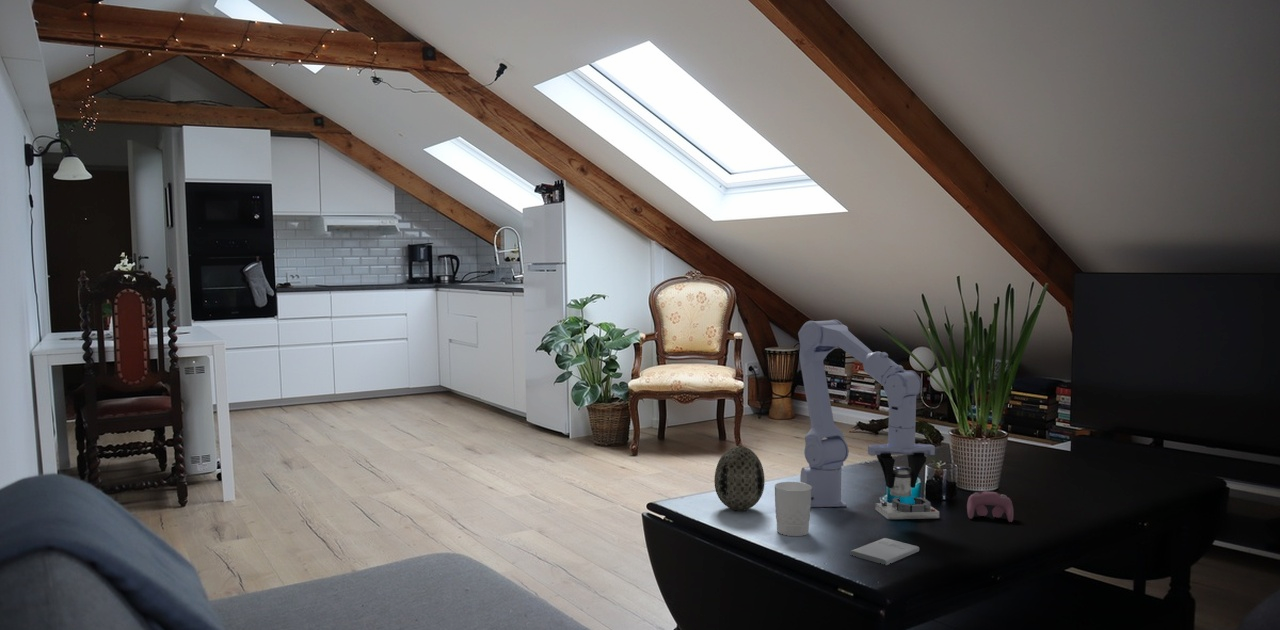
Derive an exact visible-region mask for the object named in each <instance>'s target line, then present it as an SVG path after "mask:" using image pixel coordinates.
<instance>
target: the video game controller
mask: <svg viewBox="0 0 1280 630" xmlns="http://www.w3.org/2000/svg"><path fill="white" fill-rule="evenodd" d="M987 506H994V507H993V508H992V509H991V515H992V517H993V518H995V517H996V518H995V519H1000V518H1001V517H1002V516H1003V515H1004V513H1005V515H1006V519H1007V521H1008V523H1010V522H1011V523H1012V522H1013V521H1014V505H1013V501H1012V500H1011V498H1010V497H1008V496H1007V495H1006V494H1003V493H1002V494H1001V493H999V492H996V491H988V490H987V491H986V490H985V491H979V492H973V493H972V494H970V496H968V498H967V503H966V509H967V510H966V511H967V517H968V518H969V519H970V520H972V519H974V516H975V511H976V514H977V515H978V516H979V517H981V516H984V517H987V515H988V512H989V511H988V508H987Z"/></svg>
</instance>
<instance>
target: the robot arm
mask: <svg viewBox="0 0 1280 630" xmlns="http://www.w3.org/2000/svg"><path fill="white" fill-rule="evenodd" d="M797 335H798V340H799V355H798V356H799V364H800V371H801V377H802V381H803V387H804V393H805V399H806V403H807V410H808V417H809V423H810V429H809V430H808V432H807V433H806V434H805V436H804V440H805V446H804V458H805V461H806V462H807V464H808V466H804V467H802V468H801V470H800V480H799V482H800V483H805V484H808V485H810V486H812V494H811V508H827V507H828V508H830V507H831V508H832V507H833V508H835V507H837V508H838V507H847V503H846V502H844V501H843V500H842V467H843V466H844V462H846V460H847V459H848V458H849V452H850V450H849V446H848V443H847V441H846V440H845V438H844V435H843V434H844V433H843V431H842V430H841V429H840V428H839V427H837V426H836V424H835V422H834V416H833V410H832V406H831V399H830V393H829V387H828V382H827V375H826V370H825V364H824V361H825V359H826V357H827V356H828V355H829V353H831V352H832V351H834V350H835V349H836V348H840V349H842V350H843V352H845V353H847V354H848V355H850V356H852V357H853V358H854V359H856V360H857V361H858V362H860V363H861V364H863V367H862V368H863V371H864V372H865V373H866V374H868V376H870V377H871V378H872V379H874V380H875V381H876V382H878V383H879V384H880V385H881V386H883V390H884V393H885V395H886V397H887V404H888V426H887V427H888V430H887V431H888V432H887V433H888V434H887V435H888V436H887V438H888V439H887V443H882V444H881V443H880V444H869V445H867V455H869V456H873V457H874V456H876V458H877V460H878V461H879V464H880V467H881V469H882V472H883V476H884V481H885V486H886V487H887V488H888V489H890V488H892V487H893V468H894V466H895V461H896V460H895V459H894V458H893V456H892V455H894V456H895V455H899V456H900V455H907V456H906V457H907V463H908V464H907V465H908V467H909V468H911V469H912V478H911V489H912V488H913V489H915V488H916V484H917V481H918V477H919V474H920V472H921V471H922V468H923V467H924V465H925V463H926V461H927V456H926V455H930V456H935V455H936V447H935V445H933V444H923V443H916V421H917V420H916V419H917V418H916V416H917V415H916V414H917V413H916V412H917V396H918V395H919V394H920V393H921V392H922V389H923V388H922V387H923V382H922V379H921V376H920V375H919V374H917V372H916V371H915V370H906V369H904V366H902V365H901V364H897V363H896V362H895V361H894V360H893V359H891V358H889V354H888V353H887V352H886V351H882V352H881V351H874V352H873V350H871V349H870V348H869V347H868V346H867V345H865V344H864V343H863V342H862V341H861V340H860V339H859V338H857V337H856V336H855V335H854V334H853V333H852V332H851V331H850V330H849V327H848V326H847V325H845V324H843V323H842V322H841V321H840V320H838V319H829V320H816V321H814V320H808V321H806V322H805V323H803V325H802V326H801V327H800V329H799V331H798V333H797Z"/></svg>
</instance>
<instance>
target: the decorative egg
mask: <svg viewBox="0 0 1280 630" xmlns="http://www.w3.org/2000/svg"><path fill="white" fill-rule="evenodd" d="M714 471H715V472H714V490H715V492H716V495H717V497H718V499H719V500H720V502H721V503H722V504H723V505H724V506H725V507H727V508H729V509H731V510H734V511H742V512H743V511H746V510H749V509H751V508H753V507H754V506H756V504H758V502H759V501H760V499H761V498H762V496H763V493H764V490H765V485H766V484H765V482H766V481H765V480H766V479H765V472H764V469H763V465H762V461H761V460H760V459H759V457H758V456H757V454H756V453H755V452H754V451H753V450H752V449H750V448H749V447H746V446H743V445H736V446H732V447H730V448H729V449H727V450H726V451H725V452H724V453H723V454H722V455H721V457H720V458H719V460H718V461H717V465H716V469H715V470H714Z"/></svg>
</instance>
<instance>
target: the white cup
mask: <svg viewBox="0 0 1280 630" xmlns="http://www.w3.org/2000/svg"><path fill="white" fill-rule="evenodd" d="M811 494H812V486H810V485H808V484H805V483H800V481H799V482H798V481H782V482H778V483H775V484H774V504H775V505H774V506H775V519H776V533H778V532H779V533H778V534H779V535H782V534H783V535H782V536H786V535H787V537H803V535H804V536H806V535H808V534H809V530H810V529H809V528H810V519H811V509H812V507H811Z"/></svg>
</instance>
